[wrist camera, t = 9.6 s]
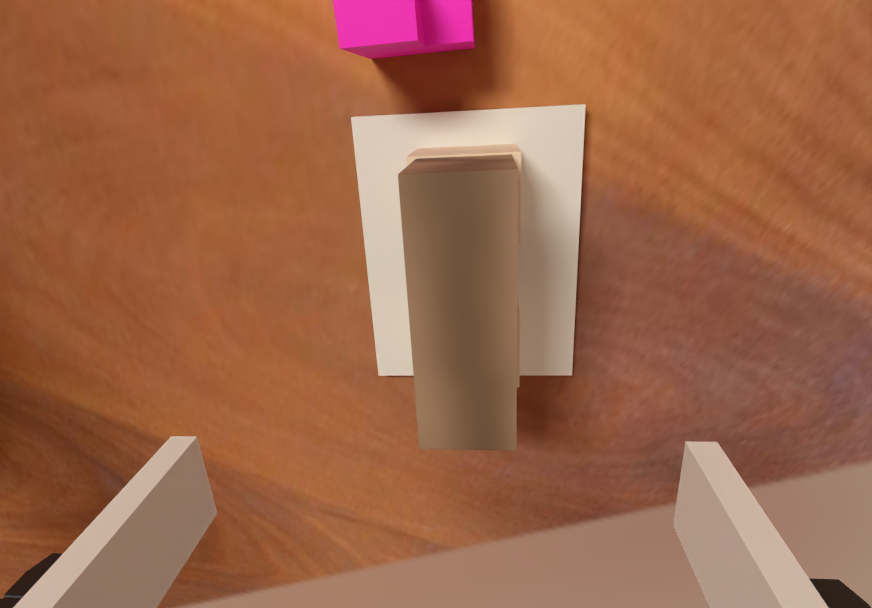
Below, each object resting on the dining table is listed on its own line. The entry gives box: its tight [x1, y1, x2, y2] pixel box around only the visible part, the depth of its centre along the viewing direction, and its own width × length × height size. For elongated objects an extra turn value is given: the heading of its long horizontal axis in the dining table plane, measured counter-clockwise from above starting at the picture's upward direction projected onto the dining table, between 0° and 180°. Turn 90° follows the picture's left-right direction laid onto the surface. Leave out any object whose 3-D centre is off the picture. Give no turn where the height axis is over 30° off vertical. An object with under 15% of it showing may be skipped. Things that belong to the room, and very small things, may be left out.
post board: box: [351, 104, 586, 387], centre depth 32 cm, size 14×18×6 cm
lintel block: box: [398, 154, 518, 450], centre depth 27 cm, size 5×14×6 cm, turn 3°
